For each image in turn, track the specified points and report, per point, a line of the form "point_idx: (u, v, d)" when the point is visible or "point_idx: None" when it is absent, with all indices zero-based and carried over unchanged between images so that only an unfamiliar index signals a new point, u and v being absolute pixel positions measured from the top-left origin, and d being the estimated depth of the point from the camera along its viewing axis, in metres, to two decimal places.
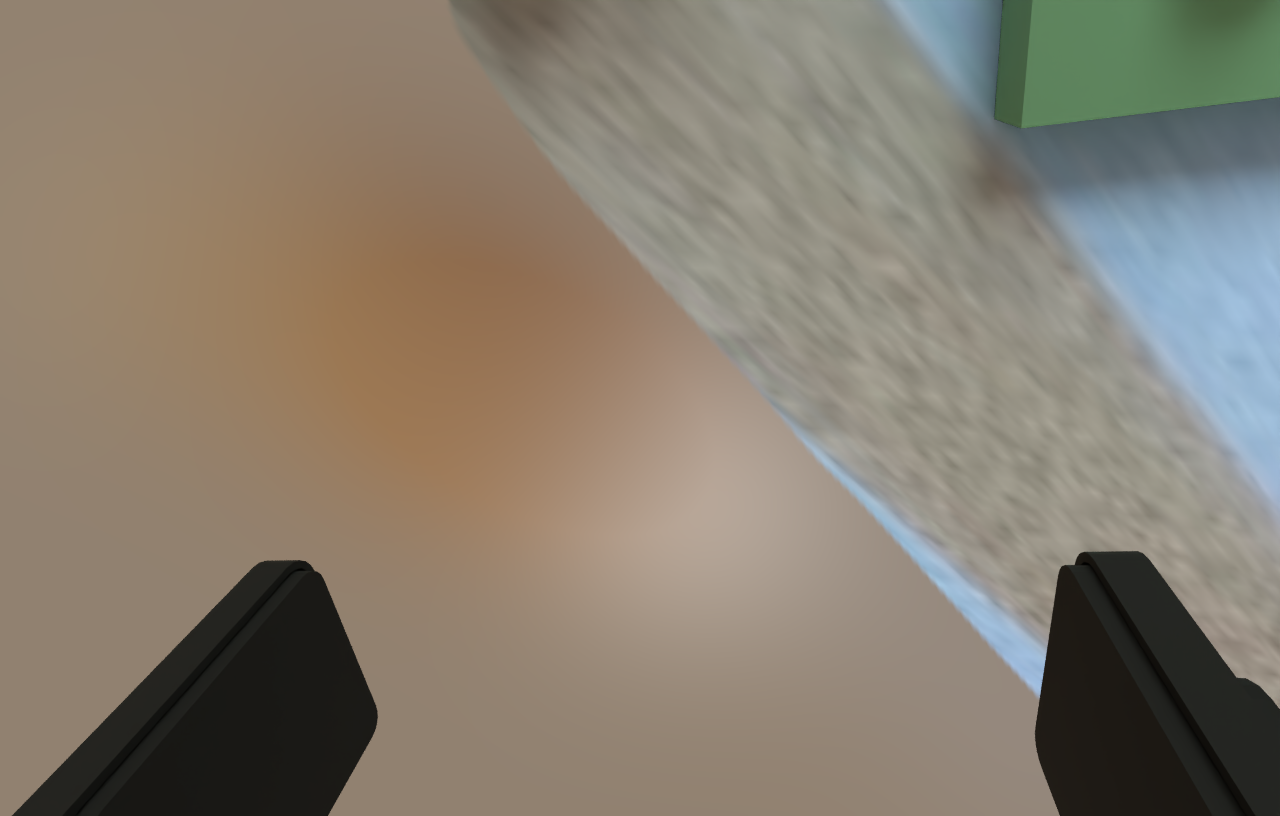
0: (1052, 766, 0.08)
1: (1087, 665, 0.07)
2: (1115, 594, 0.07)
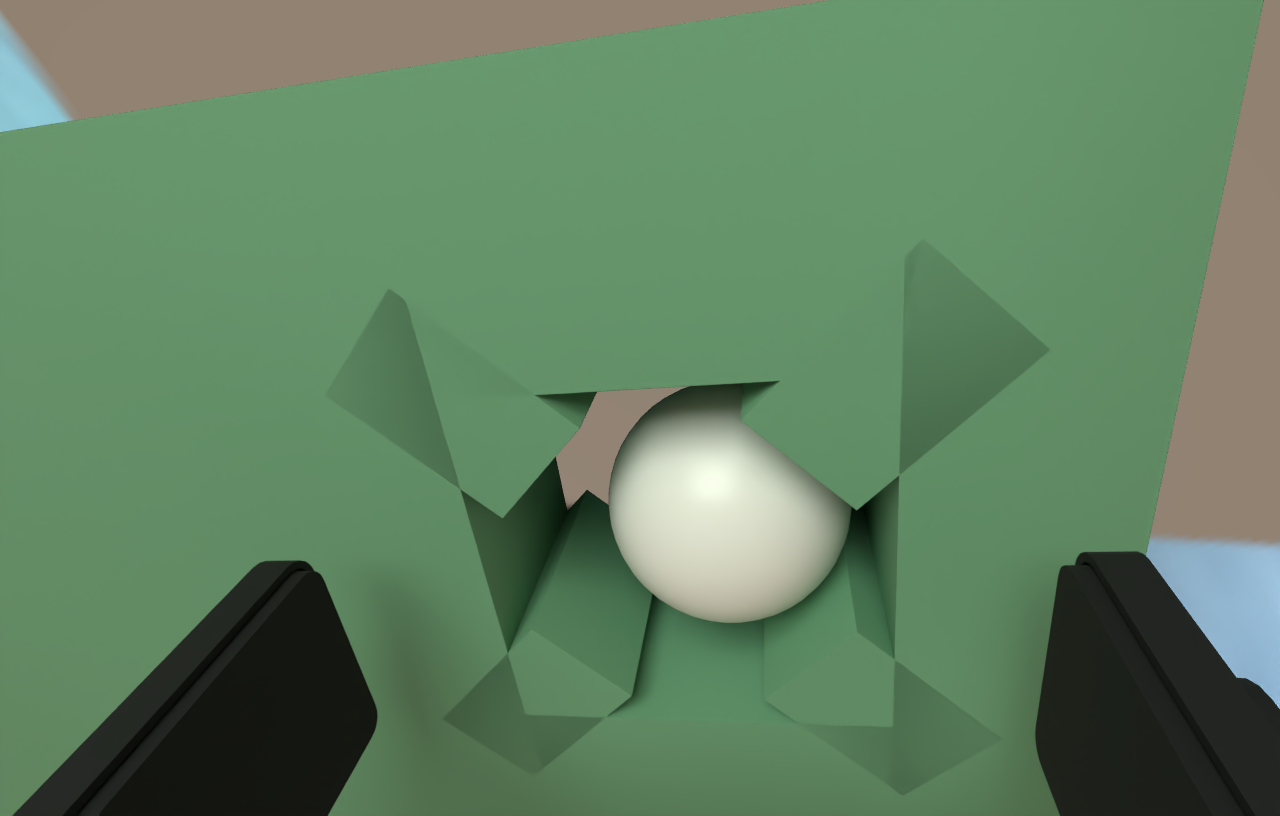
0: (1052, 767, 0.08)
1: (1087, 665, 0.07)
2: (1115, 594, 0.07)
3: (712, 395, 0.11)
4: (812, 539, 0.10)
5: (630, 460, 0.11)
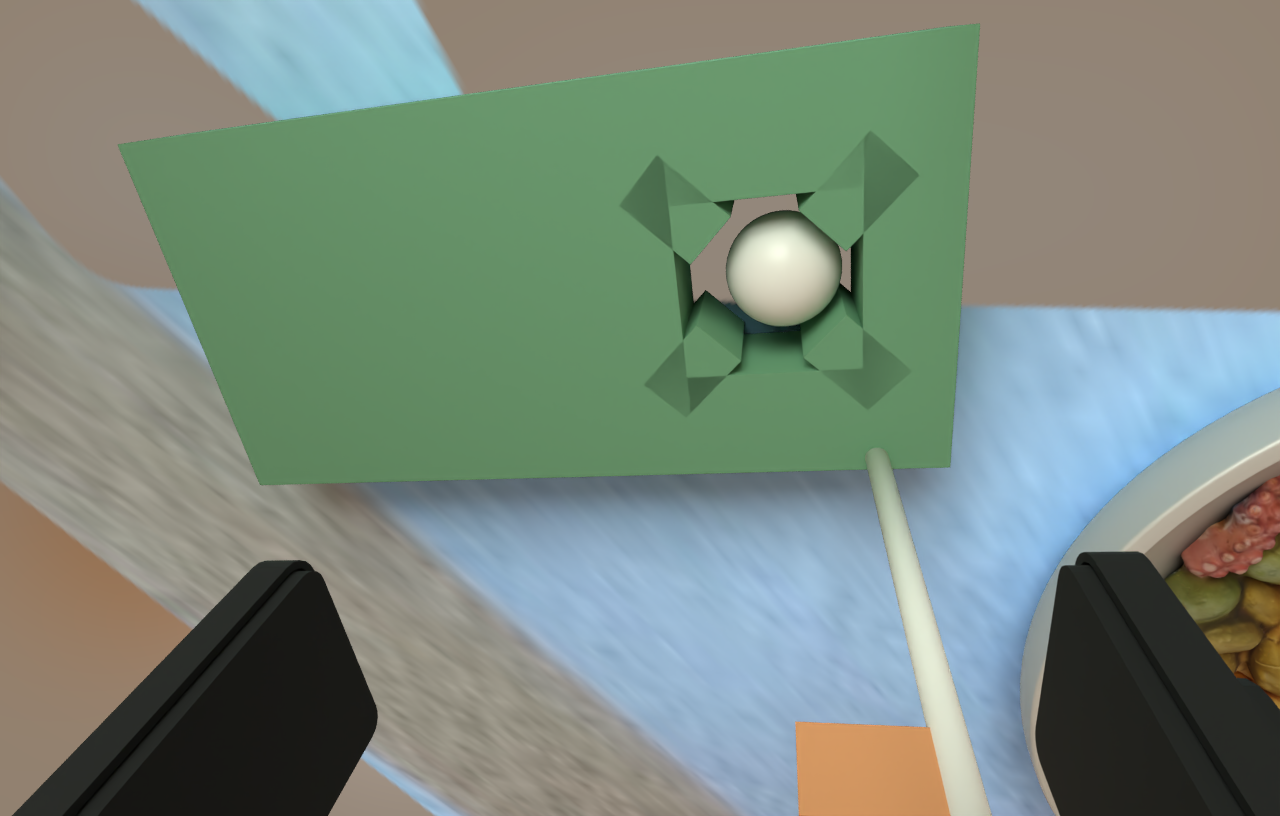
0: (1052, 766, 0.08)
1: (1087, 665, 0.07)
2: (1116, 594, 0.07)
3: (778, 211, 0.24)
4: (821, 268, 0.24)
5: (740, 239, 0.24)
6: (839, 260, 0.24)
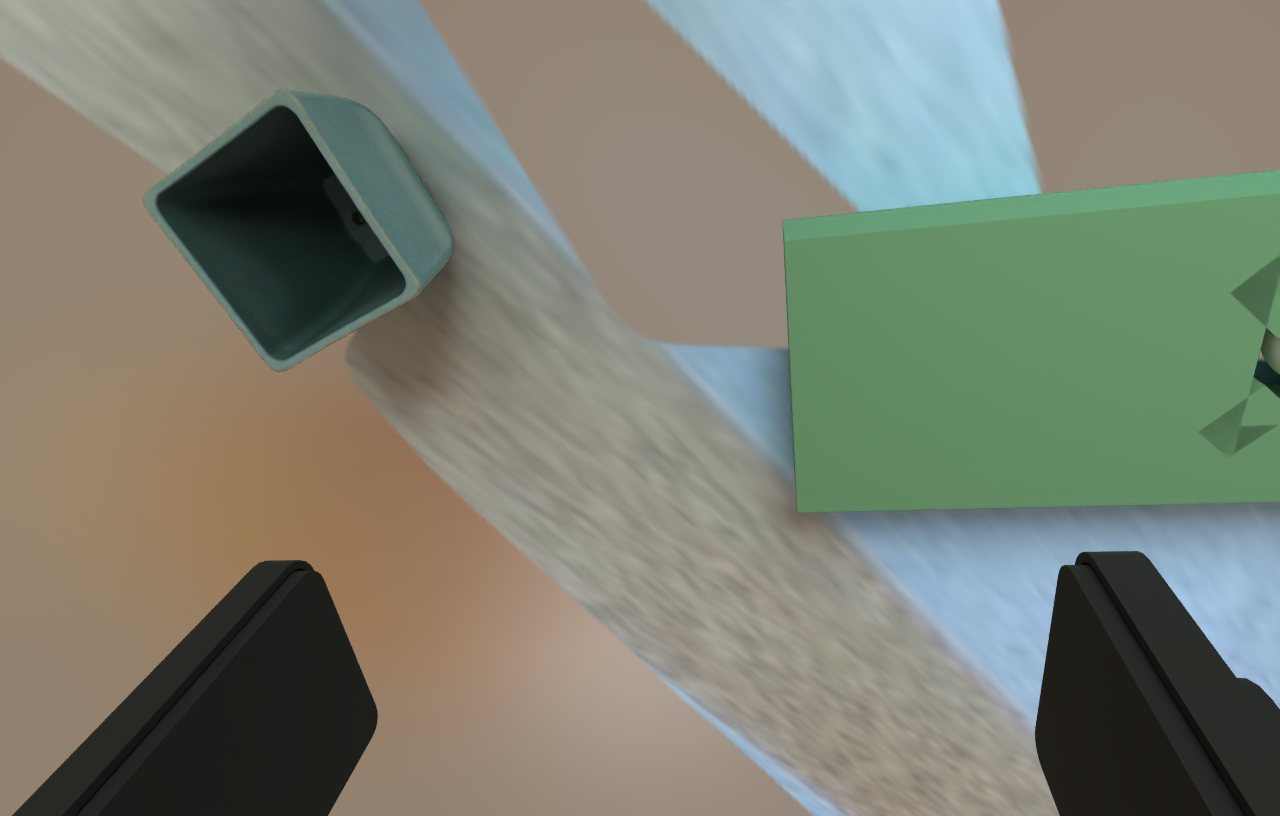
0: (1052, 766, 0.08)
1: (1087, 665, 0.07)
2: (1115, 594, 0.07)
3: None
4: None
5: None
6: None
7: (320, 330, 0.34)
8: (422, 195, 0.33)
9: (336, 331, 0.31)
